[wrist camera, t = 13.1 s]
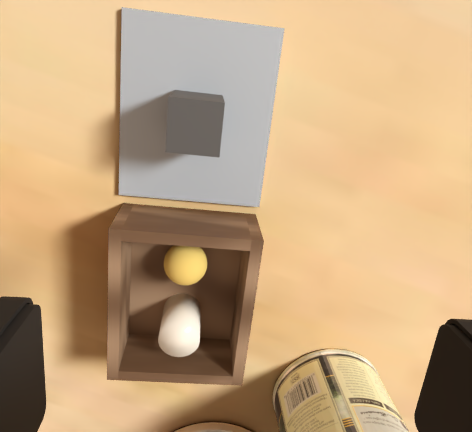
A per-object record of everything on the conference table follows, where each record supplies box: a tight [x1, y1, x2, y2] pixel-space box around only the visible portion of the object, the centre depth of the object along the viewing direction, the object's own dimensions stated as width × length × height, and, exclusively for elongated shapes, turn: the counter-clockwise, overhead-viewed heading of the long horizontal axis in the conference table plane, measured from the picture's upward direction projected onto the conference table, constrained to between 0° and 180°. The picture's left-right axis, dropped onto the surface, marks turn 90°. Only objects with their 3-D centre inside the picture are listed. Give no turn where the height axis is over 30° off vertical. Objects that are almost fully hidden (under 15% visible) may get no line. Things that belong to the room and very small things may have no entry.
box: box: [107, 203, 264, 385], centre depth 32 cm, size 12×10×5 cm
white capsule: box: [158, 293, 201, 357], centre depth 32 cm, size 3×3×4 cm
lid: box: [119, 7, 284, 207], centre depth 27 cm, size 12×10×6 cm
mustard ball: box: [164, 245, 207, 285], centre depth 31 cm, size 3×3×3 cm
